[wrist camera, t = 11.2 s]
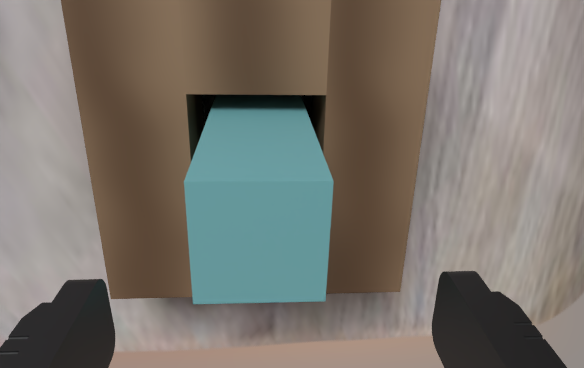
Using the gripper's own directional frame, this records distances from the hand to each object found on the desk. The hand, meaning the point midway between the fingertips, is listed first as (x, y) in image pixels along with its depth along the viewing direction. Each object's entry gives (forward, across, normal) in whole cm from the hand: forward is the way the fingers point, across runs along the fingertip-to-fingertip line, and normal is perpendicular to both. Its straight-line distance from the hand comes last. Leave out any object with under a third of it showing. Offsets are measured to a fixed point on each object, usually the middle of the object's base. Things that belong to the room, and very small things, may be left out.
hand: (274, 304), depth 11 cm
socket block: (+14, +1, 0) cm, 14 cm away
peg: (+14, +1, 0) cm, 14 cm away
